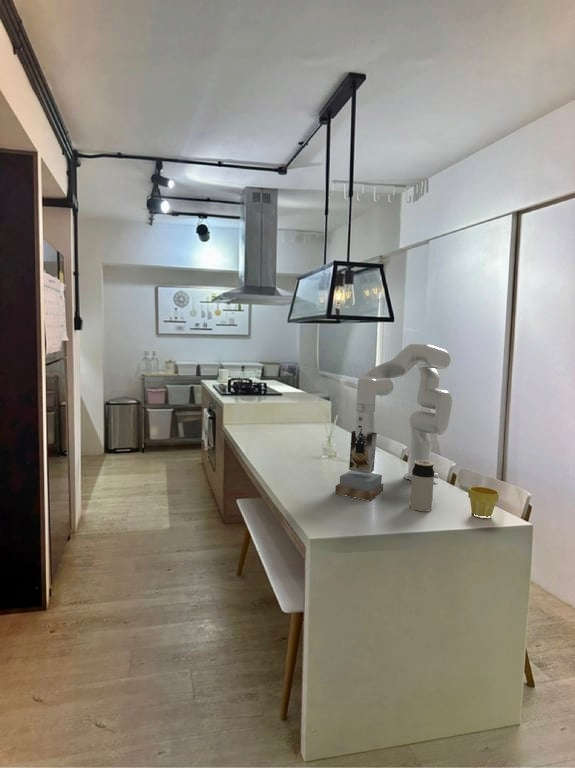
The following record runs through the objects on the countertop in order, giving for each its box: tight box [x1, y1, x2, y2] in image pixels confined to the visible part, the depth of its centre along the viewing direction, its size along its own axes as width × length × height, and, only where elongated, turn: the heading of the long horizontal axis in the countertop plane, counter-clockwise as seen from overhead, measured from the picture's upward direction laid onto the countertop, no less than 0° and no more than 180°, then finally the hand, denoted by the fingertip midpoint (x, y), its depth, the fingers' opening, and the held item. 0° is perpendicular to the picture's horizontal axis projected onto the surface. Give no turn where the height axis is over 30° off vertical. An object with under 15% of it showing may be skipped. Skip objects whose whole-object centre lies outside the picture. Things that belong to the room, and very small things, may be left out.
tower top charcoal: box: [339, 470, 383, 492], centre depth 205 cm, size 13×13×4 cm
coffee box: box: [348, 430, 378, 474], centre depth 204 cm, size 9×6×16 cm
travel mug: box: [409, 460, 435, 512], centre depth 188 cm, size 8×8×18 cm
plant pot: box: [467, 486, 500, 517], centre depth 183 cm, size 10×10×10 cm
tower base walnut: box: [334, 483, 384, 502], centre depth 205 cm, size 15×15×4 cm
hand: (362, 450), depth 204 cm, fingers closed on coffee box, 6 cm apart
